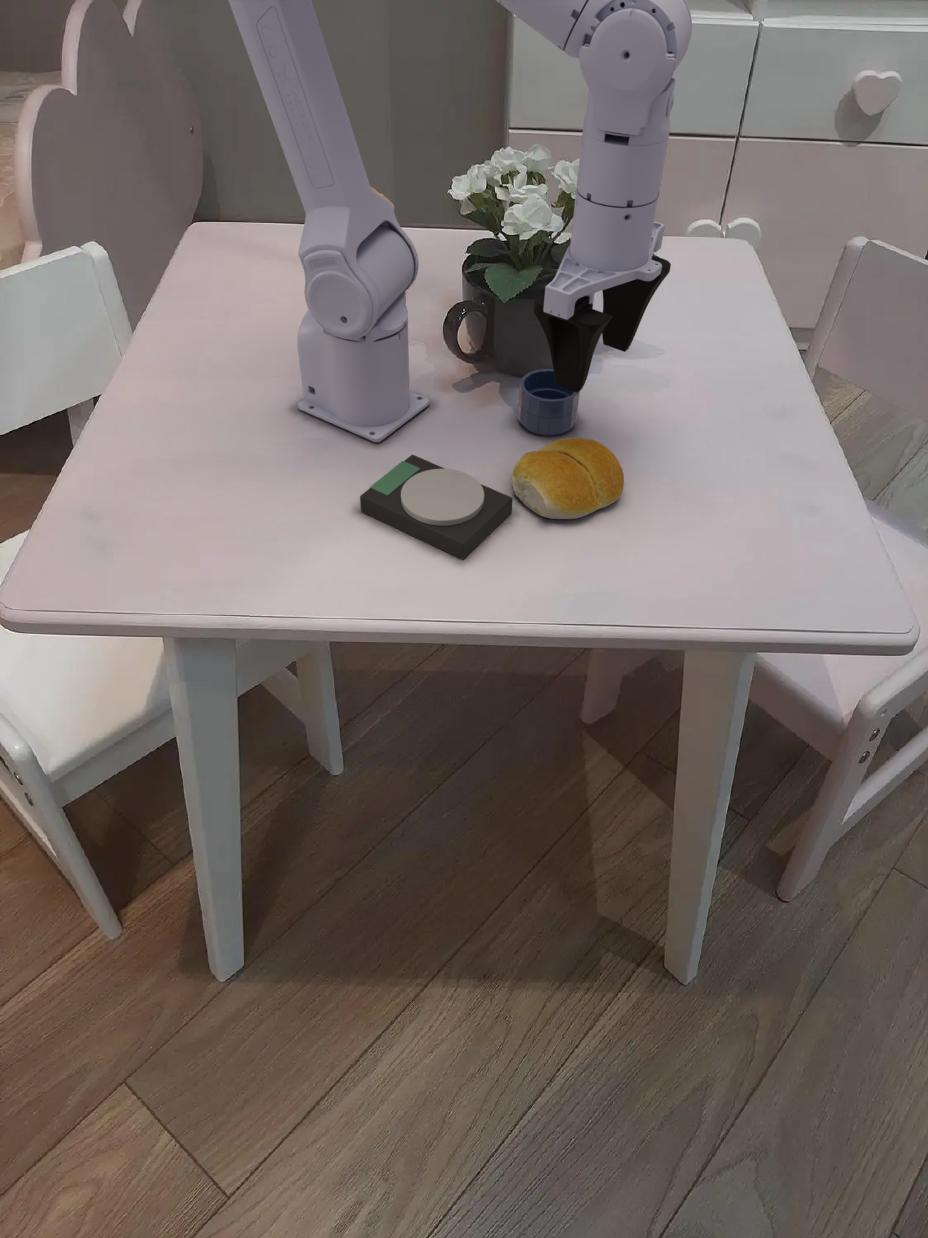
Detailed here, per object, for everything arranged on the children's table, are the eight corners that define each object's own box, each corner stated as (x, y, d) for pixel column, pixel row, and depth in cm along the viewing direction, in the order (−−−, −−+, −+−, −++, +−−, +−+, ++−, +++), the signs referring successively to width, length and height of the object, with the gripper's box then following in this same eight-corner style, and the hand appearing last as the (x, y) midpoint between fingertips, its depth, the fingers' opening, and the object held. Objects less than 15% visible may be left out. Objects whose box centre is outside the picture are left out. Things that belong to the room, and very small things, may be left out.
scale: (360, 511, 75) (359, 489, 74) (412, 469, 79) (412, 447, 78) (462, 560, 72) (463, 538, 70) (511, 513, 76) (513, 491, 74)
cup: (506, 424, 84) (508, 388, 82) (537, 399, 88) (540, 362, 85) (557, 445, 82) (561, 407, 80) (586, 417, 86) (591, 381, 83)
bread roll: (640, 495, 78) (648, 455, 75) (557, 536, 74) (563, 495, 71) (574, 447, 82) (579, 408, 79) (493, 483, 78) (495, 443, 75)
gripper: (618, 242, 59) (592, 424, 69) (713, 174, 68) (678, 344, 77) (524, 213, 62) (511, 392, 72) (627, 151, 70) (603, 319, 80)
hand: (593, 366), depth 75 cm, fingers open, 7 cm apart
